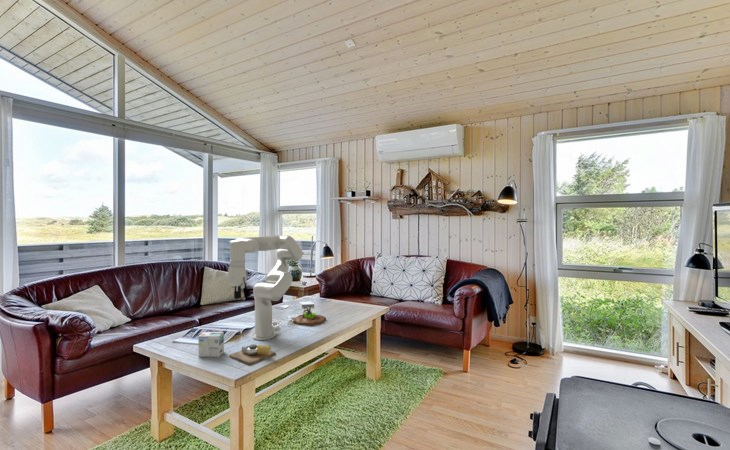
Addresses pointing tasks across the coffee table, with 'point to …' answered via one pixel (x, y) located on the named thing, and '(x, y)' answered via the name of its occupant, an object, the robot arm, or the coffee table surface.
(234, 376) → the coffee table surface
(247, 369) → the coffee table surface
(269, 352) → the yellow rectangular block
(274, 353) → the wooden cheese board
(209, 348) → the light bulb box
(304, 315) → the plant
